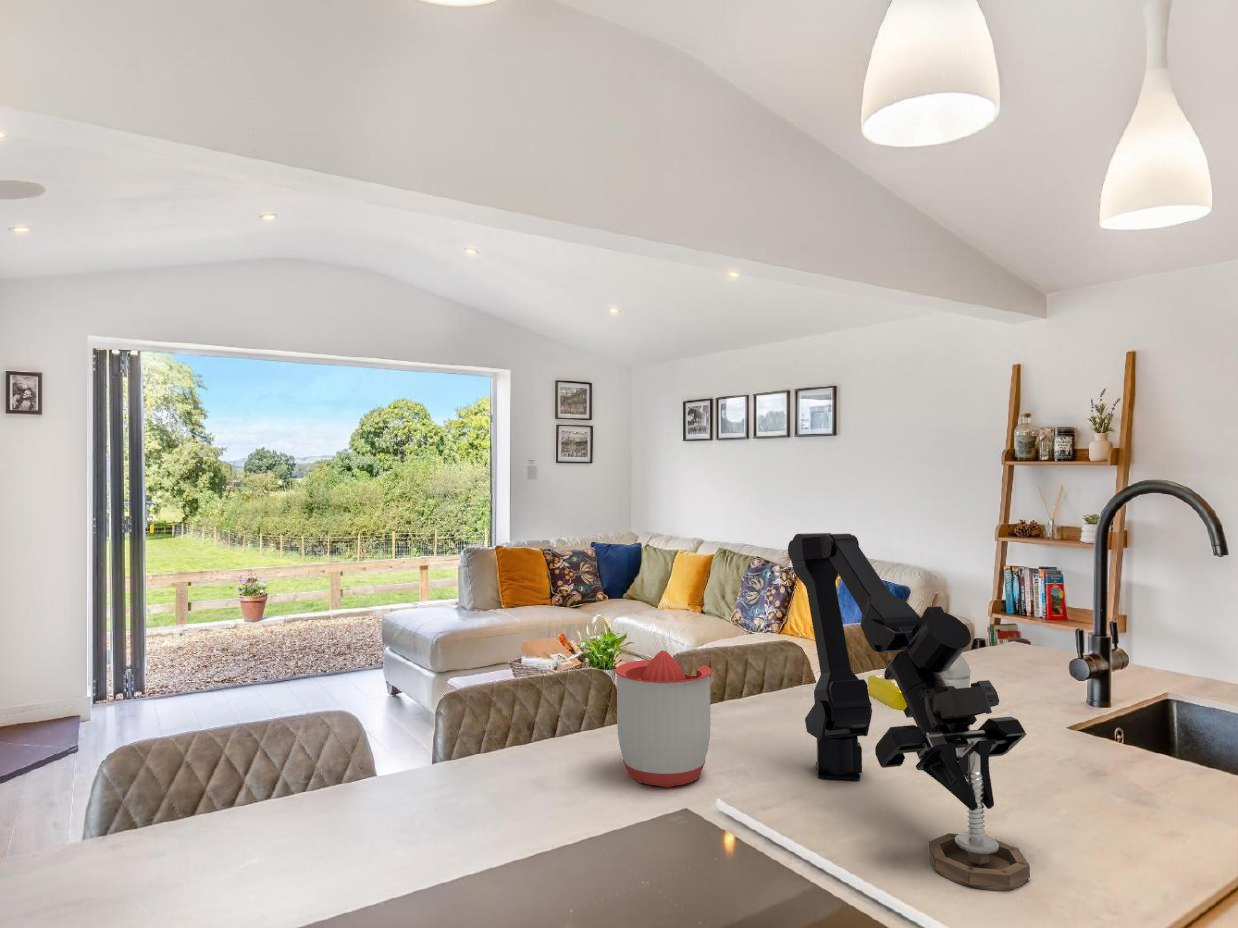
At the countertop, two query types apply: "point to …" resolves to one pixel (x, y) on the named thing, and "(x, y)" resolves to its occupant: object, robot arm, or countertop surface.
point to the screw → (976, 820)
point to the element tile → (886, 691)
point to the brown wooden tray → (979, 865)
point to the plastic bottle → (957, 677)
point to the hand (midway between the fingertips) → (983, 808)
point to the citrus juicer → (663, 720)
